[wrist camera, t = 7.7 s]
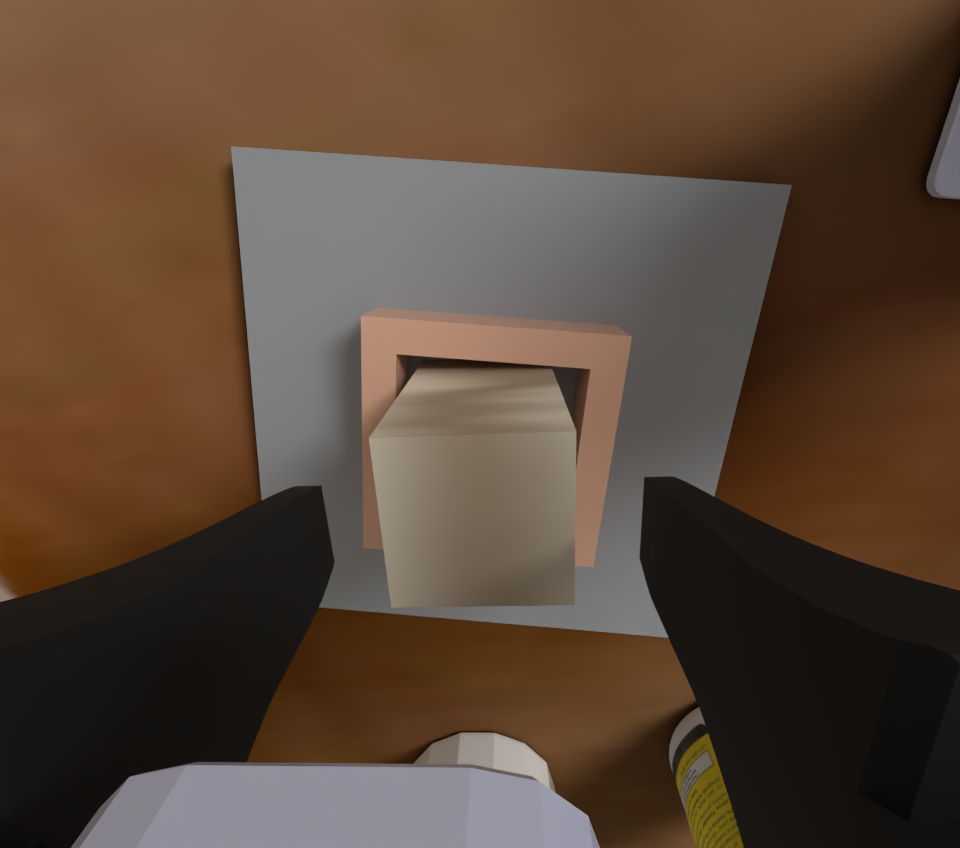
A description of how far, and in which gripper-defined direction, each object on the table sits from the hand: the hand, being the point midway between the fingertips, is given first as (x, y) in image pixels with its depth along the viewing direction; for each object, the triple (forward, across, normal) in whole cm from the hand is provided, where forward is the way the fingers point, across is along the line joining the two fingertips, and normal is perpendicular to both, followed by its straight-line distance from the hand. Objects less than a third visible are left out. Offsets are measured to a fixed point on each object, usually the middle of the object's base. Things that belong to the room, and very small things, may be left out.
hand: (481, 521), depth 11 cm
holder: (+7, 0, 0) cm, 7 cm away
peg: (+6, 0, 0) cm, 6 cm away
